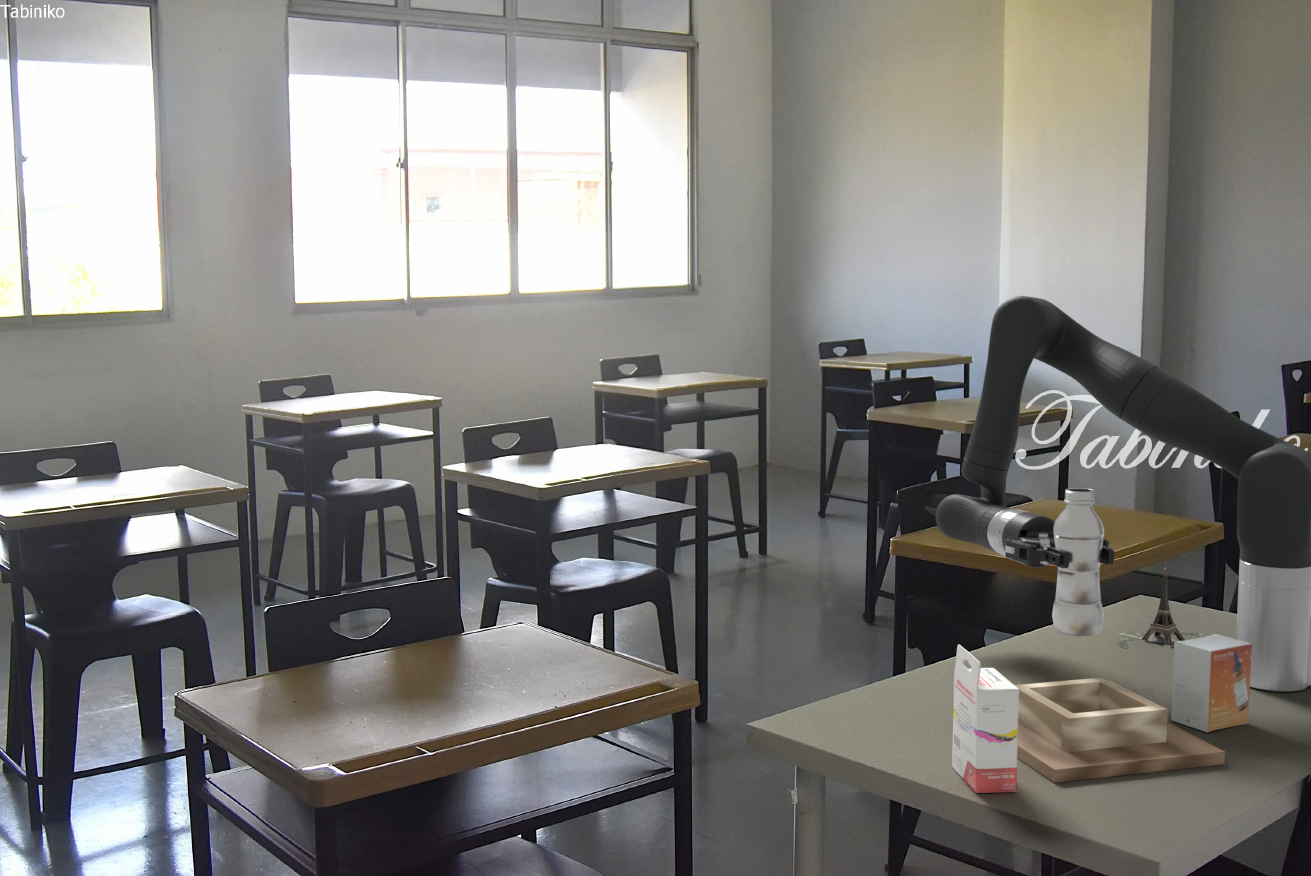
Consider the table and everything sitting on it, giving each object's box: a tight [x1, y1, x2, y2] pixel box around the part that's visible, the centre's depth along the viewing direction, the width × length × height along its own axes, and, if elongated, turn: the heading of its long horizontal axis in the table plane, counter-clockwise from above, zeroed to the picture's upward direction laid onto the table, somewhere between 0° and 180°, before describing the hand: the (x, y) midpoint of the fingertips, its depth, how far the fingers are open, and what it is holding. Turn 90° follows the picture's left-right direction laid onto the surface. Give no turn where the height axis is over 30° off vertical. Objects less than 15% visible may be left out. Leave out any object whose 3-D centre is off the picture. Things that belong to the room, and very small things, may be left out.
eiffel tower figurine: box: [1116, 561, 1203, 650], centre depth 197 cm, size 15×10×13 cm
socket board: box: [1014, 677, 1226, 783], centre depth 153 cm, size 22×22×6 cm
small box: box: [1170, 633, 1252, 733], centre depth 159 cm, size 8×6×10 cm
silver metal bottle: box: [1051, 487, 1105, 638], centre depth 170 cm, size 6×7×20 cm
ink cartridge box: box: [951, 644, 1019, 794], centre depth 141 cm, size 9×5×15 cm, turn 5°
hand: (1089, 559), depth 167 cm, fingers closed on silver metal bottle, 6 cm apart
